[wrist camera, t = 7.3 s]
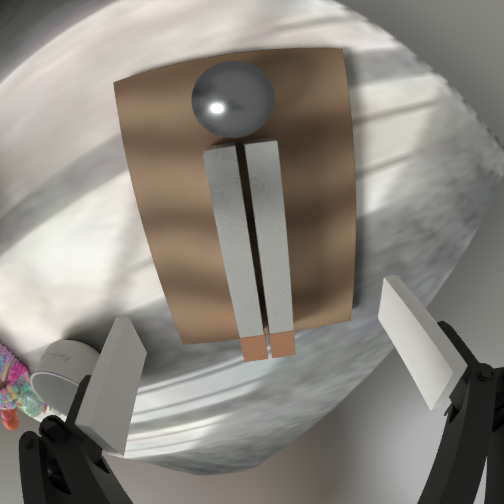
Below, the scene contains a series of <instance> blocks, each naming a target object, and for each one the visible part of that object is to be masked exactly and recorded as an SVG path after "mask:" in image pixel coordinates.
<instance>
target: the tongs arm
mask: <svg viewBox="0 0 504 504" xmlns="http://www.w3.org/2000/svg"><path fill="white" fill-rule="evenodd" d="M243 144H244V151H245V158H246V165H247V172H248V179H249V187H250V194H251V201H252V209H253V216H254V223H255V231H256V238H257V246H258V253H259V261H260V268H261V276H262V283H263V291H264V298H265V310H266V318H267V325H268V333H269V339H270V346H271V353H272V358H277V357H284V356H290V355H295V335H294V328H293V312H292V296H291V282H290V268H289V255H288V243H287V231H286V220H285V209H284V199H283V189H282V179H281V170H280V161H279V152H278V143H277V140H275V139H273V138H270V137H267V138H258V139H250V140H243Z"/></svg>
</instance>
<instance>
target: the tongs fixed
mask: <svg viewBox="0 0 504 504" xmlns="http://www.w3.org/2000/svg"><path fill="white" fill-rule="evenodd" d="M191 103H192V109H193V112H194V115H195V117H196V118H197V120H198V121H199V123H200V124H201V125H202V126H203V127H204V128H205V129H207V130H208V131H209V132H211V133H213V134H215V135H218V136H221V137H226V138H239V137H244V136H247V135H250V134H252V133H254V132H255V131H257V130H258V129H260V128H261V127H262V126H263V125H264V124H265V123H266V122H267V120H268V119H269V117H270V116H271V114H272V111H273V108H274V103H275V94H274V89H273V86H272V83H271V82H270V80H269V78H268V77H267V75H266V74H265V73H264V72H263V71H262V70H260V69H259V68H258V67H256V66H254V65H252V64H250V63H247V62H243V61H225V62H221V63H218V64H215V65H213V66H211V67H210V68H208V69H207V70H206V71H205V72H203V73H202V75H201V76H200V77H199V78H198V80H197V81H196V83H195V85H194V88H193V91H192V97H191ZM203 156H204V162H205V167H206V173H207V178H208V184H209V189H210V195H211V200H212V205H213V211H214V216H215V221H216V226H217V231H218V236H219V241H220V246H221V251H222V256H223V261H224V266H225V271H226V276H227V281H228V285H229V290H230V295H231V299H232V304H233V308H234V313H235V318H236V322H237V327H238V331H239V338H240V343H241V347H242V351H243V356H244V360H245V362H248V361H256V360H263V359H268V354H267V347H266V339H265V332H264V325H263V318H262V311H261V306H260V302H259V295H258V288H257V282H256V275H255V269H254V262H253V255H252V249H251V242H250V236H249V229H248V222H247V216H246V209H245V203H244V196H243V189H242V183H241V176H240V170H239V163H238V156H237V150H236V143H235V142H229V143H223V144H217V145H211V146H208V147H207V148H206V149H205V150H204V151H203Z"/></svg>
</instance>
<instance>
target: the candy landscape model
mask: <svg viewBox="0 0 504 504" xmlns="http://www.w3.org/2000/svg"><path fill="white" fill-rule="evenodd" d="M1 344H2V343H1ZM1 344H0V409H2V408H3V409H2V411H1V415H2V417H3V424H4V425H5V427H6V428H8V429H9V430H16V429H17V428H18V426H19V421H18V419H17V414H16V413H17V408H16V406H18V407H20V408H22V409H23V410H24V411H25V413H27V414H28V415H29V416H30V417H31V416H32V417H37V416H38V415H40V414H41V413H44V414H45V413H46V412H48V411H50V406H49V405H47V404H46V403H45V402H44V401H43V400H41V399H40V397H39V396H38V395H37V394H36V393H35V391H34V390H33V388H32V386H31V383H30V377H31V376H30V375H29V371H28V370H27V368H26V366H24V365H23V364H22V363H20V362H19V360H20V359H19V360H17V358H15V357H14V356H15V355H12V352H13V351H12V352H10V350H9V352H8V349H6V348H7V347H8V346H7V347H6V346H5V347H4V346H3V345H1ZM34 415H35V416H34Z"/></svg>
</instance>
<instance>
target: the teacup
mask: <svg viewBox="0 0 504 504" xmlns="http://www.w3.org/2000/svg"><path fill="white" fill-rule="evenodd" d="M99 356H100V353H99V352H98V351H96V350H95V349H94V348H92V347H91V346H89V345H87V344H85V343H82V342H79V341H75V340H60V341H56V342H54V343H52V344H51V345H50V346H49V347H48V348H47V349H46V351H45V352H44V354H43V355H42V357H41V359H40V361H39V363H38V364H37V367H36V369H35V371H34V372H33V373H32V375H31V377H30V383H31V386H32V388H33V390H34V391H35V393H36V394H37V395H38V396H39V397H40V399H41V400H43V401H44V402H45V403H46V404H47V405H49V406H50V407H51V411H52V413H54V414H56V415H60V414H63V415H65V416H68V413H69V410H70V407H71V404H72V402H73V400H74V396H75V394H76V393H77V392H76V391H77V389H78V386H79V383H80V382H81V381H82V379H83V378H84V377H85V376H86V375H92V374H93V371H94V369H95V366H96V364H97V361H98V359H99Z"/></svg>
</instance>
